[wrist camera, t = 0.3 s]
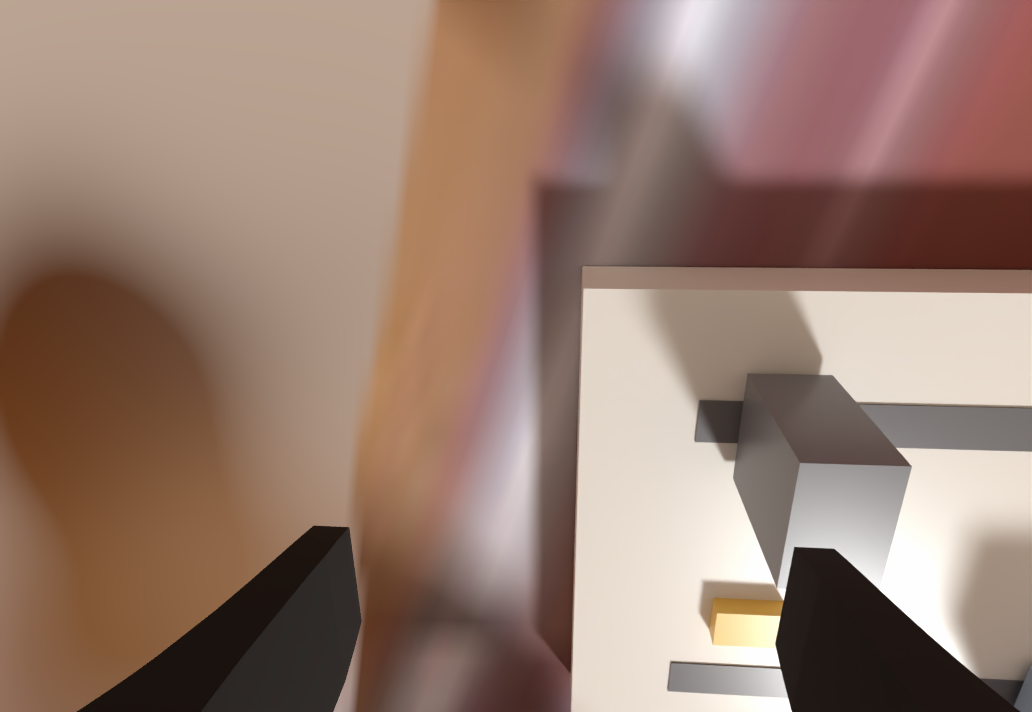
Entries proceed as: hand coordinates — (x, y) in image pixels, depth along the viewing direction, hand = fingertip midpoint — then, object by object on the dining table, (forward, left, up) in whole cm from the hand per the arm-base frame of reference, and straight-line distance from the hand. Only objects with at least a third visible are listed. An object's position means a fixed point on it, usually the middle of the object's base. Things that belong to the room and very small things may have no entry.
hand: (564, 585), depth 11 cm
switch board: (-4, -11, -9) cm, 15 cm away
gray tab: (-1, -5, -6) cm, 8 cm away
